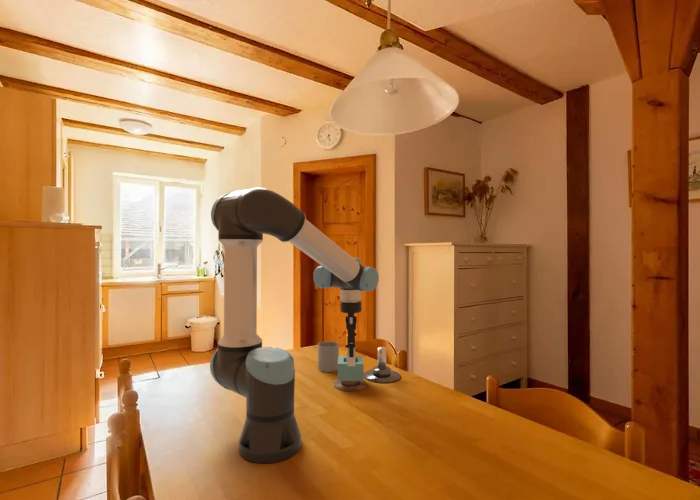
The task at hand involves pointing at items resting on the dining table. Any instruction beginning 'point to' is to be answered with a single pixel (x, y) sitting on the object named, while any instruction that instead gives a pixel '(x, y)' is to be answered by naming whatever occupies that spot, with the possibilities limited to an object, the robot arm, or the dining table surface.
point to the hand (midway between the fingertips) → (351, 359)
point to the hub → (381, 370)
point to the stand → (350, 384)
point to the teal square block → (350, 369)
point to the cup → (328, 356)
